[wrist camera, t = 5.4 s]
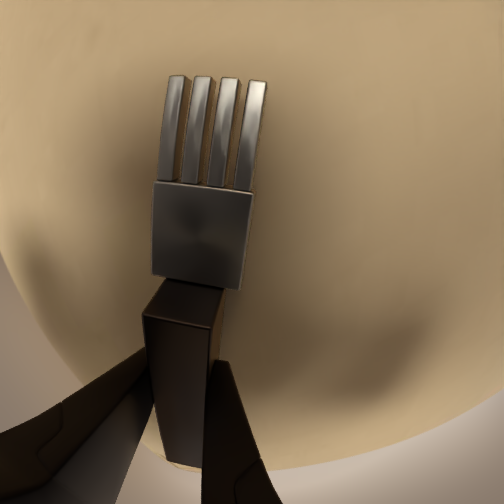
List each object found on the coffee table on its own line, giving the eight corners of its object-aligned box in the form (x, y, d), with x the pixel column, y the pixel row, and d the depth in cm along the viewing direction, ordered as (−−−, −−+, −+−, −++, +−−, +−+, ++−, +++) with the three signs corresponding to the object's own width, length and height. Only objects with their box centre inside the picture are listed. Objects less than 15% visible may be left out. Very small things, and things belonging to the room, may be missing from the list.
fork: (220, 431, 11) (214, 471, 9) (169, 420, 11) (157, 458, 9) (272, 87, 6) (272, 61, 4) (173, 80, 6) (133, 58, 4)
